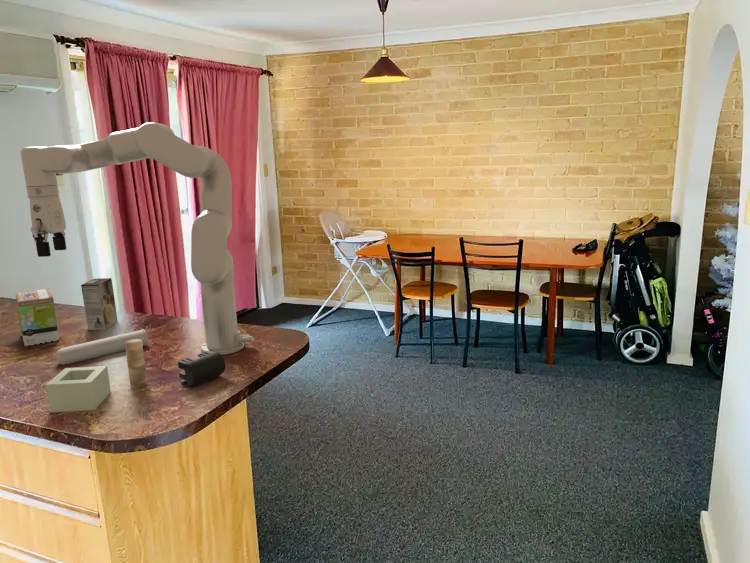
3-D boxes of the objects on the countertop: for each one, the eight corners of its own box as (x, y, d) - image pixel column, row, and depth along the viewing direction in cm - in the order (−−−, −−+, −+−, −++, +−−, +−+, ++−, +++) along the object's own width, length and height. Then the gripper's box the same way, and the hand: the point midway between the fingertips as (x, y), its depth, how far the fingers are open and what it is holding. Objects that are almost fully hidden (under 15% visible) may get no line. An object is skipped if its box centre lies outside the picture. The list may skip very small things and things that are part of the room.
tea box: (60, 340, 180) (53, 296, 176) (24, 347, 175) (16, 301, 171) (55, 328, 192) (49, 287, 189) (21, 334, 187) (14, 292, 183)
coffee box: (100, 321, 199) (94, 278, 195) (118, 321, 199) (112, 277, 195) (87, 330, 190) (80, 284, 186) (105, 330, 190) (99, 284, 186)
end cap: (194, 391, 141) (192, 366, 139) (178, 384, 145) (175, 359, 143) (227, 377, 148) (225, 354, 147) (210, 371, 152) (208, 348, 151)
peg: (149, 382, 146) (143, 338, 143) (144, 388, 142) (138, 344, 140) (133, 382, 146) (127, 339, 143) (128, 389, 142) (122, 344, 139)
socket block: (110, 391, 141) (107, 365, 139) (94, 409, 131) (90, 382, 129) (69, 394, 140) (65, 368, 138) (50, 412, 130) (45, 384, 129)
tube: (57, 356, 156) (148, 334, 171) (52, 345, 159) (142, 325, 175) (59, 371, 158) (148, 348, 174) (54, 360, 162) (142, 339, 177)
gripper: (42, 194, 147) (52, 258, 151) (70, 189, 163) (79, 247, 167) (12, 195, 146) (23, 259, 150) (44, 190, 163) (53, 248, 167)
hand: (52, 253), depth 159 cm, fingers open, 9 cm apart
